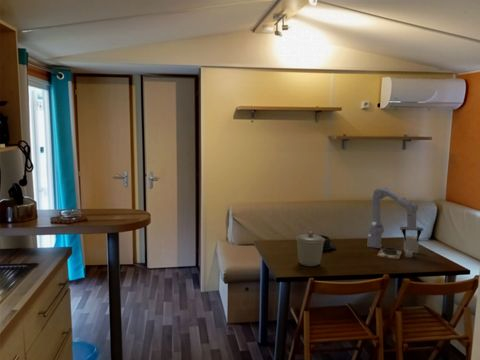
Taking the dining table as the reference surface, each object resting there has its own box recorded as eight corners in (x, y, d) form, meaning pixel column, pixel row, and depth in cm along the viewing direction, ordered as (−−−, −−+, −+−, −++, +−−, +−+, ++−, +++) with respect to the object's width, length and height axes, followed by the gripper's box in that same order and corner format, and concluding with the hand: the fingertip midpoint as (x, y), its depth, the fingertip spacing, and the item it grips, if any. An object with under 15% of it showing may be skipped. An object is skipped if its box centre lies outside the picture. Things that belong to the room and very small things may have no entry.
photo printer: (402, 250, 298) (403, 233, 296) (405, 249, 301) (406, 232, 299) (415, 253, 290) (417, 236, 288) (418, 252, 293) (420, 235, 291)
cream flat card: (377, 256, 283) (377, 250, 282) (381, 249, 299) (381, 244, 298) (398, 259, 276) (399, 253, 276) (401, 252, 292) (402, 247, 292)
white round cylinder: (404, 256, 283) (404, 249, 282) (405, 254, 287) (405, 247, 287) (412, 257, 281) (412, 250, 280) (412, 256, 285) (413, 248, 284)
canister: (317, 259, 273) (319, 227, 270) (328, 268, 255) (329, 234, 253) (291, 259, 270) (292, 228, 267) (300, 269, 252) (301, 235, 249)
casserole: (307, 253, 286) (307, 241, 284) (297, 245, 304) (297, 234, 302) (340, 251, 291) (341, 240, 290) (328, 244, 309) (329, 233, 308)
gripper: (400, 221, 281) (400, 241, 282) (423, 222, 275) (423, 242, 276) (400, 219, 287) (399, 239, 288) (423, 220, 282) (422, 240, 283)
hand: (411, 240), depth 283 cm, fingers open, 7 cm apart
